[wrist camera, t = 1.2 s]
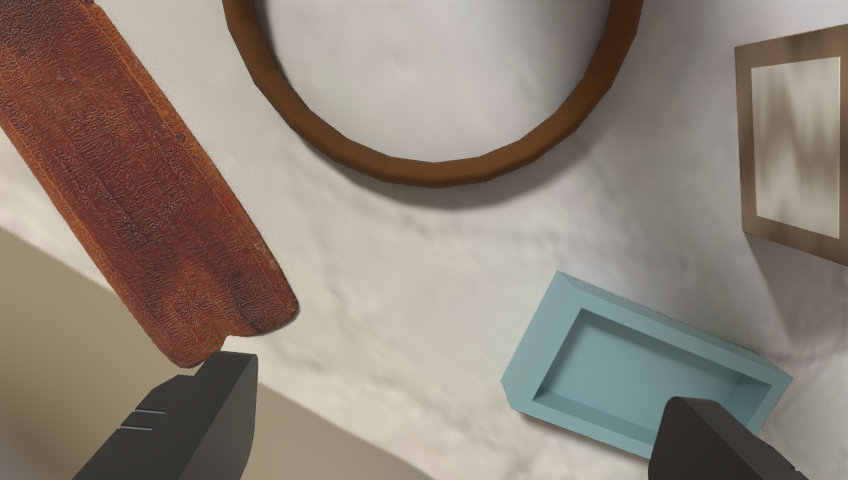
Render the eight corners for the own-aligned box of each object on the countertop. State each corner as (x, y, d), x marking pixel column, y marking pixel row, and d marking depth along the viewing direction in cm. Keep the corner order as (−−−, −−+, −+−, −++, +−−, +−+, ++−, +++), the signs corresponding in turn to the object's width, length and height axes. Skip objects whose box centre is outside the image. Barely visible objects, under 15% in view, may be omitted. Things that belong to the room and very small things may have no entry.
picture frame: (732, 47, 31) (861, 21, 23) (797, 33, 31) (951, 2, 23) (741, 230, 34) (858, 270, 26) (800, 218, 34) (936, 253, 26)
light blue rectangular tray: (500, 380, 36) (511, 408, 33) (557, 270, 34) (574, 287, 31) (693, 453, 38) (722, 486, 35) (756, 353, 36) (793, 378, 33)
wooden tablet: (310, 305, 35) (306, 315, 33) (187, 371, 35) (177, 383, 34) (63, -80, 28) (43, -92, 27) (-81, 8, 29) (-109, 2, 27)
